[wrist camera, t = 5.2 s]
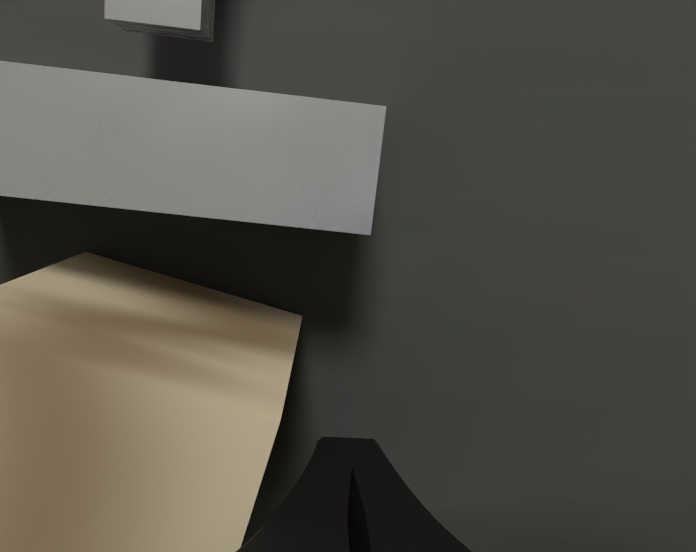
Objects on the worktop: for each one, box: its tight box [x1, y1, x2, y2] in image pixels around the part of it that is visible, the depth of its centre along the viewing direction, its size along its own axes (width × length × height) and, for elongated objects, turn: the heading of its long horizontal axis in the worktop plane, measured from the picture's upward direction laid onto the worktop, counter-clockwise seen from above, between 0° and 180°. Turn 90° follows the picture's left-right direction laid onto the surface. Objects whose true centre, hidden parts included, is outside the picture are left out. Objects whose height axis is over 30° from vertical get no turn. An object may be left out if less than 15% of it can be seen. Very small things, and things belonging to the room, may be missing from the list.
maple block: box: [0, 252, 302, 552], centre depth 10 cm, size 5×5×5 cm
